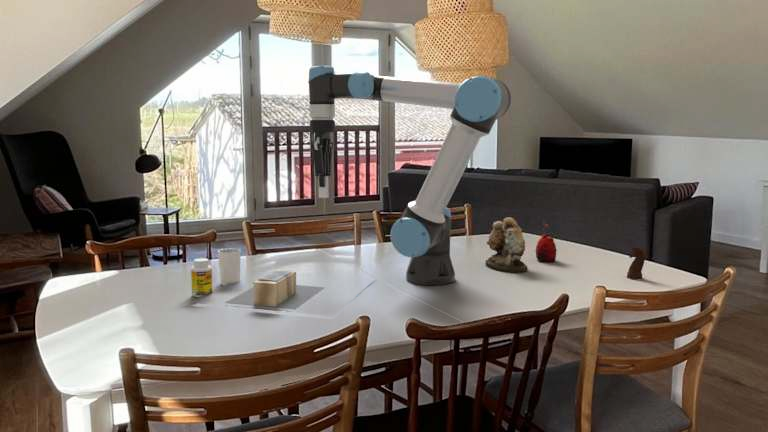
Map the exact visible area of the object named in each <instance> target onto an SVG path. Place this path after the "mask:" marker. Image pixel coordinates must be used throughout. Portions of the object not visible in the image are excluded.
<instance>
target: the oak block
mask: <svg viewBox="0 0 768 432" xmlns="http://www.w3.org/2000/svg"><path fill="white" fill-rule="evenodd" d="M296 285H297V271H295V270H285V269H283V270H282V269H275V270H274V271H272V272H270V273H267V274H266V275H263V276H262V277H260V278H258V279H257V280H255V281H253V287H254V304H257V305H268V306H276V305H278V304H279V303H281V302H282V301H284V300H285V299H287V298H288V297H290V296H291V295H293V294H294V293H296Z"/></svg>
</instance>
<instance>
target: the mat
mask: <svg viewBox="0 0 768 432" xmlns="http://www.w3.org/2000/svg"><path fill="white" fill-rule="evenodd" d="M325 288H326V287H324V286H315V285H313V286H311V285H299V284H296V293H294V294H293V295H291V296H290V297H288V298H287V299H285V300H284V301H282V302H281V303H279V304H278V305H276V306H268V305H257V304H254V286H253V287H251V288H249V289H247V290H246V291H243V292H242V293H240V294H238V295H236V296H234V297H233V298H231V299H229V300H227V301H225V304H232V305H234V307H238V306H236V305H243V306H256V307H255V309H258V310H259V308H257V307H264V308H265V307H267V308H269V309H267V308H265V310H268V311H270V308H276V311H277V312H280V311H281V310H277V309H288V310H296V309H298V308H299V307H301V305H303V304H305V303H306V302H307V301H309V300H310V299H312V298H313V297H314V296H315V295H317V294H318V293H320V292H321V291H323V290H324V289H325ZM224 306H228V305H224ZM244 308H248V309H249V307H244ZM288 310H287V312H290V313H291V311H288Z"/></svg>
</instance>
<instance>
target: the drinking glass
mask: <svg viewBox="0 0 768 432" xmlns="http://www.w3.org/2000/svg"><path fill="white" fill-rule="evenodd" d="M217 253H218V266H219V269H218V270H219V279H220V285H222V286H226V285H227V284H234V283H239V282H240V281H241V257H242V254H241V253H242V251H241V249H240V248H221V249H219V250H217Z"/></svg>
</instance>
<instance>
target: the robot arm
mask: <svg viewBox="0 0 768 432" xmlns="http://www.w3.org/2000/svg"><path fill="white" fill-rule="evenodd" d="M308 96H309V97H308V98H309V107H308V109H307V110H308V112H309V118H310V120H309V132H310V133H315V135H314V140H313V142H312V143H311V148H312V155H313V162H314V163H313V164H314V176H315V177H318V178H317V181H318V198H319V199H320V198H321V199H327V198H330V193H329V191H330V190H329V187H330V186H329V177H330V176H332V160H333V159H332V157H333V148H334V142H333V141H332V140H331V135H330V133H335V131H336V121H335V120H334V118H335V117H336V110H335V109H336V108H335V107H336V104H335V99H337V100H339V99H342V100H344V99H355V100H368V101H376V102H377V101H378V102H387V103H388V102H389V103H397V104H404V105H406V104H407V105H414V106H424V107H432V108H441V109H448V110H452V111H451V113H450V115H449V117H450V118H449V119H450V120H451V126H450V128H449V130H448V132H447V134H446V136H445V138H444V140H443V142H442V144H441V147H440V149H439V151H438V153H437V155H436V157H435V159H434V161H433V163H432V165H431V168H430V170H429V172H428V174H427V176H426V178H425V180H424V182H423V184H422V185H421V186H422V187H421V189H420V190H419V193H418V194H417V196H416V199H415V200H412V201H409V202H408V204H407V205H406V208H405V209H404V212H403V214H402V216H401V217H400V218H399V219H397V220H396V221H395V222H394V223H393V225H392V226H391V230H390V232H389V233H390V240H391V241H390V242H391V243H392V246H393V248H394V249H395V251H396V252H398V254H400V255H402V256H403V257H406V258H407V257H408V258H410V260H409V264H408V266H407V270H406V276H405V279H406V281H407V282H409V283H413V284H415V285H422V286H423V285H424V286H442V285H449V284H452V283H454V282H455V281H456V272H455V268H454V265H453V262H452V259H451V258H452V257H451V228H452V227H451V224H452V216H451V215H452V212H451V209H450V208H449V207H447V206H448V204H449V202H450V200H451V198H452V197H453V194H454V192H455V191H456V188H457V186H458V184H459V182H460V180H461V178H462V175H464V172H465V169H467V166H468V164H469V162H470V160H471V158H472V156H473V154H474V152H475V151H476V148H477V146H478V144H479V142H480V140H481V138H483V137H485V136H488V135H490V133H491V130H492V129H493V127H494V124H495V122H496V121H497V120H499V119H501V118H502V117H504V116H505V115H506V114H507V113H508V111H509V109H510V108H511V104H512V95H511V90H510V89H509V87H508V86H507V84H505V82H503V80H499V79H497V78H492V77H489V76H487V75H475V76H471V77H469V78H466V79H465V80H464V81H462V82H461V83H459V82H451V81H450V82H449V81H440V80H438V81H437V80H428V79H427V80H426V79H417V78H406V77H397V76H396V77H395V76H385V75H376V74H371V73H370V72H368V71H350V72H349V71H348V72H335V68H334V67H333V66H331V65H315V66H311V67H310V68H309V70H308Z"/></svg>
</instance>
